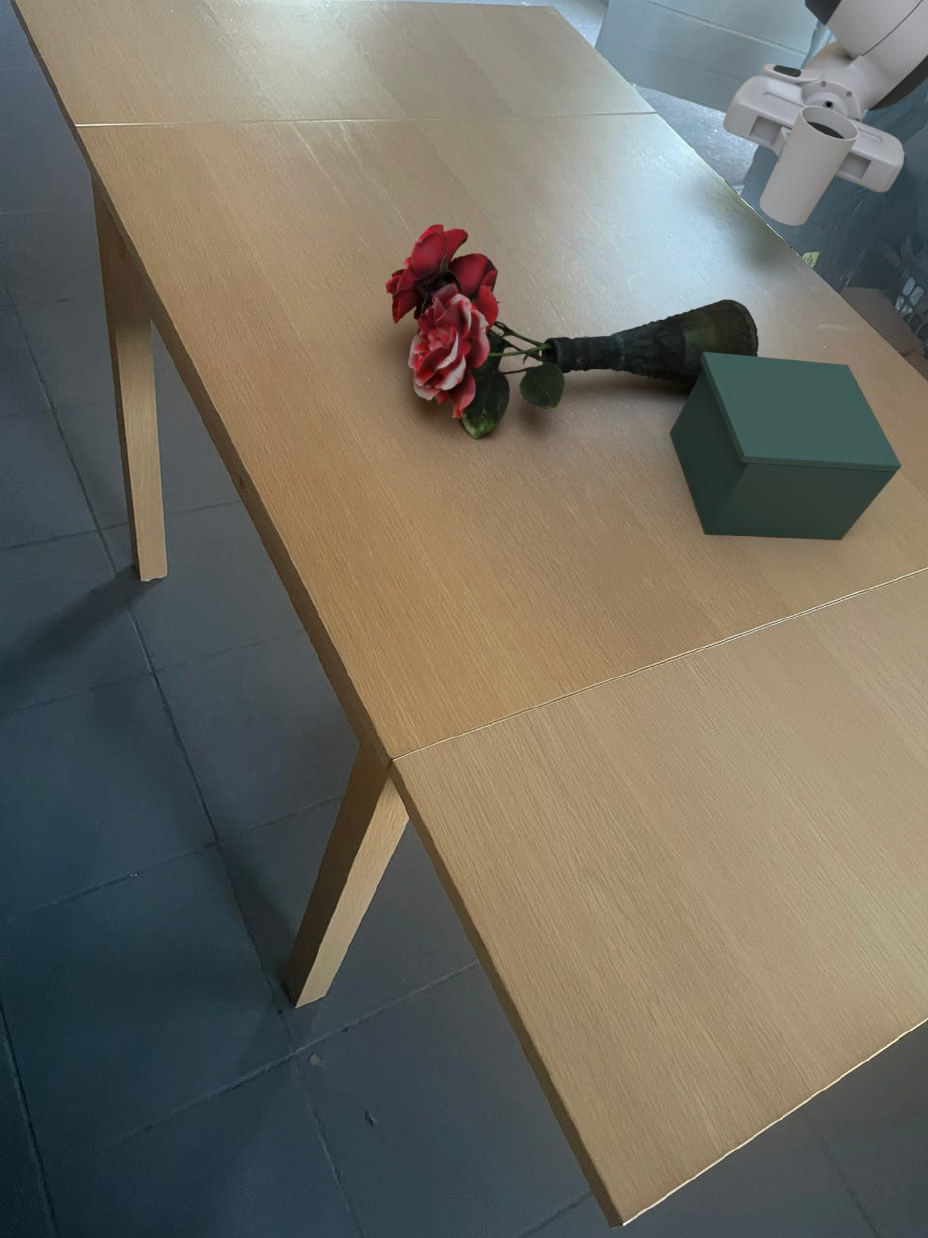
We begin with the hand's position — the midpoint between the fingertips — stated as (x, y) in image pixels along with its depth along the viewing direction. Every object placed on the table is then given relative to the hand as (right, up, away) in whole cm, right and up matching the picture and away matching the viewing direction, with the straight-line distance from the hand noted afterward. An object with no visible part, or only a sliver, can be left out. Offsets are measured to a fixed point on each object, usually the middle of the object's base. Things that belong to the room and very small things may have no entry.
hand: (802, 164), depth 99 cm
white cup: (0, -3, +5) cm, 6 cm away
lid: (-7, -31, -19) cm, 37 cm away
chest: (-9, -36, -11) cm, 39 cm away
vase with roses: (-28, -26, -8) cm, 39 cm away
